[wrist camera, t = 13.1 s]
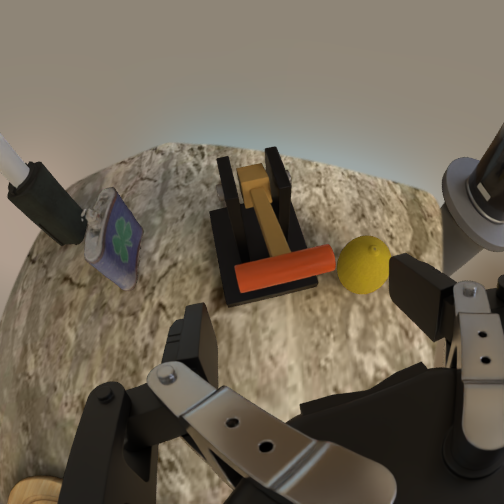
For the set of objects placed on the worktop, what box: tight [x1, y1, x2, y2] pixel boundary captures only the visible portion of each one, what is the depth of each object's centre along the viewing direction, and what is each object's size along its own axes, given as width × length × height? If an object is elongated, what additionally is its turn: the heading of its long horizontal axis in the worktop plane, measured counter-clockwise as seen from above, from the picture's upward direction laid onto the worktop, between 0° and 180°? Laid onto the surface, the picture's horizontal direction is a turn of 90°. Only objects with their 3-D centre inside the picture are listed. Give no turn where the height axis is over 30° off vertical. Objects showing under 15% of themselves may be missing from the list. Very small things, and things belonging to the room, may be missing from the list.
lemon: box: [337, 236, 391, 294], centre depth 29 cm, size 6×6×8 cm
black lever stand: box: [209, 147, 318, 308], centre depth 29 cm, size 12×10×14 cm
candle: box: [0, 133, 88, 246], centre depth 27 cm, size 5×5×25 cm
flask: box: [81, 187, 144, 291], centre depth 31 cm, size 9×3×11 cm, turn 1°
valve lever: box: [235, 163, 336, 293], centre depth 20 cm, size 12×5×2 cm, turn 12°
